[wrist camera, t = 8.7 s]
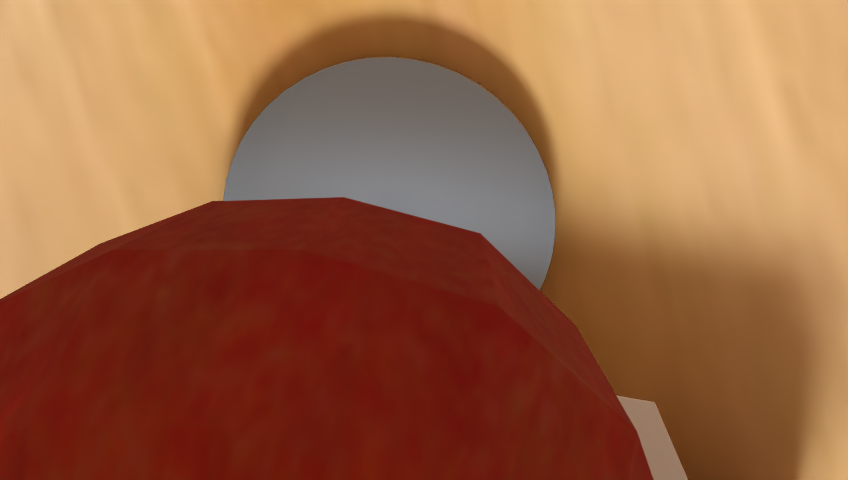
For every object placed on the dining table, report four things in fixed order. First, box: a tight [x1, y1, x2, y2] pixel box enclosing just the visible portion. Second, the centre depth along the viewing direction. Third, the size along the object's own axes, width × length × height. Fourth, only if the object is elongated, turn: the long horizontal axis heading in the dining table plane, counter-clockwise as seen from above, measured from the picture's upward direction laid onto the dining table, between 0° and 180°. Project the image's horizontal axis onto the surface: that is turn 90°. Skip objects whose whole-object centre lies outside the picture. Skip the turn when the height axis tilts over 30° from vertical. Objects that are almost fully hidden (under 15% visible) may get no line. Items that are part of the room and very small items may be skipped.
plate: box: [223, 56, 555, 291], centre depth 27 cm, size 11×11×1 cm
